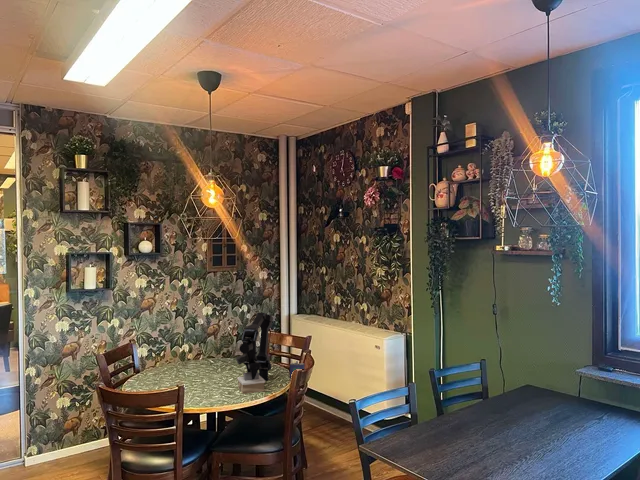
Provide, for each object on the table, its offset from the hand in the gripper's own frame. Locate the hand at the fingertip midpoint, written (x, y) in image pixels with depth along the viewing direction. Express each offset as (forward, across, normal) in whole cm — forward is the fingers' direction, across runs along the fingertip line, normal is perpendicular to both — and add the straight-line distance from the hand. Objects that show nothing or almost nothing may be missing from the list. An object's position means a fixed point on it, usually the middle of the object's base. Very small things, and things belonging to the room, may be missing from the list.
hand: (251, 377), depth 271 cm
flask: (+7, -12, +32) cm, 35 cm away
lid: (+3, 0, 0) cm, 3 cm away
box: (+7, 0, 0) cm, 7 cm away
